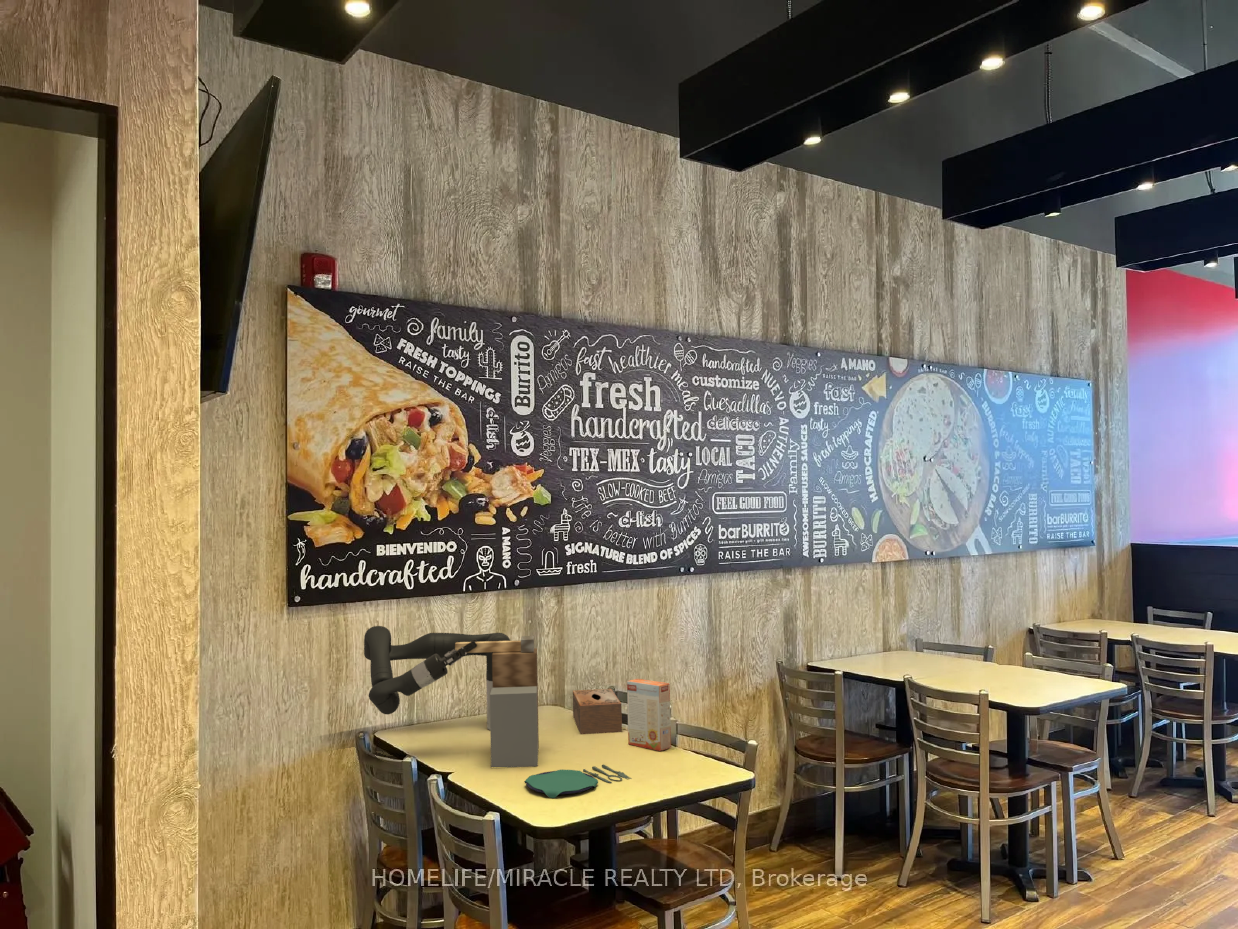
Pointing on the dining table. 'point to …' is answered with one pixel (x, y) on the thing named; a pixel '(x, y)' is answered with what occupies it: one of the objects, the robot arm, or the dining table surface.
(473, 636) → the robot arm
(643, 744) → the cracker box
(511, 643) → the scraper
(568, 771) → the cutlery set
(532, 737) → the grey tall block
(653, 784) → the dining table surface
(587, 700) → the tissue box cover
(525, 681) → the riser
